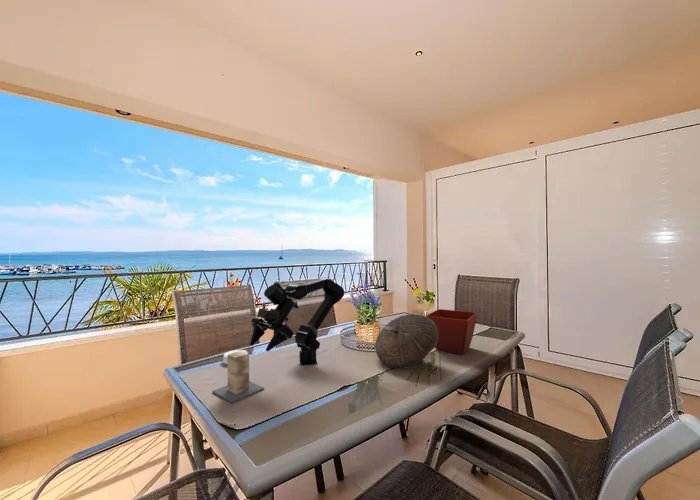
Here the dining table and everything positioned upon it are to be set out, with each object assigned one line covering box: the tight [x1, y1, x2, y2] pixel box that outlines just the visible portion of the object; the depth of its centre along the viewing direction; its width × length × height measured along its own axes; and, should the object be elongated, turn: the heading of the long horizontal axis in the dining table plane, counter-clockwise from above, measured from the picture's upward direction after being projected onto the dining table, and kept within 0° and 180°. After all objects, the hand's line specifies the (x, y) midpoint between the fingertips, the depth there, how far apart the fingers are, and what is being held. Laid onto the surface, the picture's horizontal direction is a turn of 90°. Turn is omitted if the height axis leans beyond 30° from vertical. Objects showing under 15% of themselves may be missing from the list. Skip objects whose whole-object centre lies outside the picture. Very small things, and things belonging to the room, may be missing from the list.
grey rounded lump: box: [375, 314, 439, 369], centre depth 128 cm, size 28×23×25 cm
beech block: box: [227, 351, 250, 394], centre depth 102 cm, size 5×5×12 cm
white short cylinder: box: [222, 349, 248, 366], centre depth 131 cm, size 10×10×4 cm
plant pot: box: [426, 308, 478, 355], centre depth 145 cm, size 19×19×17 cm
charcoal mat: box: [212, 380, 265, 404], centre depth 102 cm, size 12×12×1 cm
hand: (258, 347), depth 109 cm, fingers open, 9 cm apart
